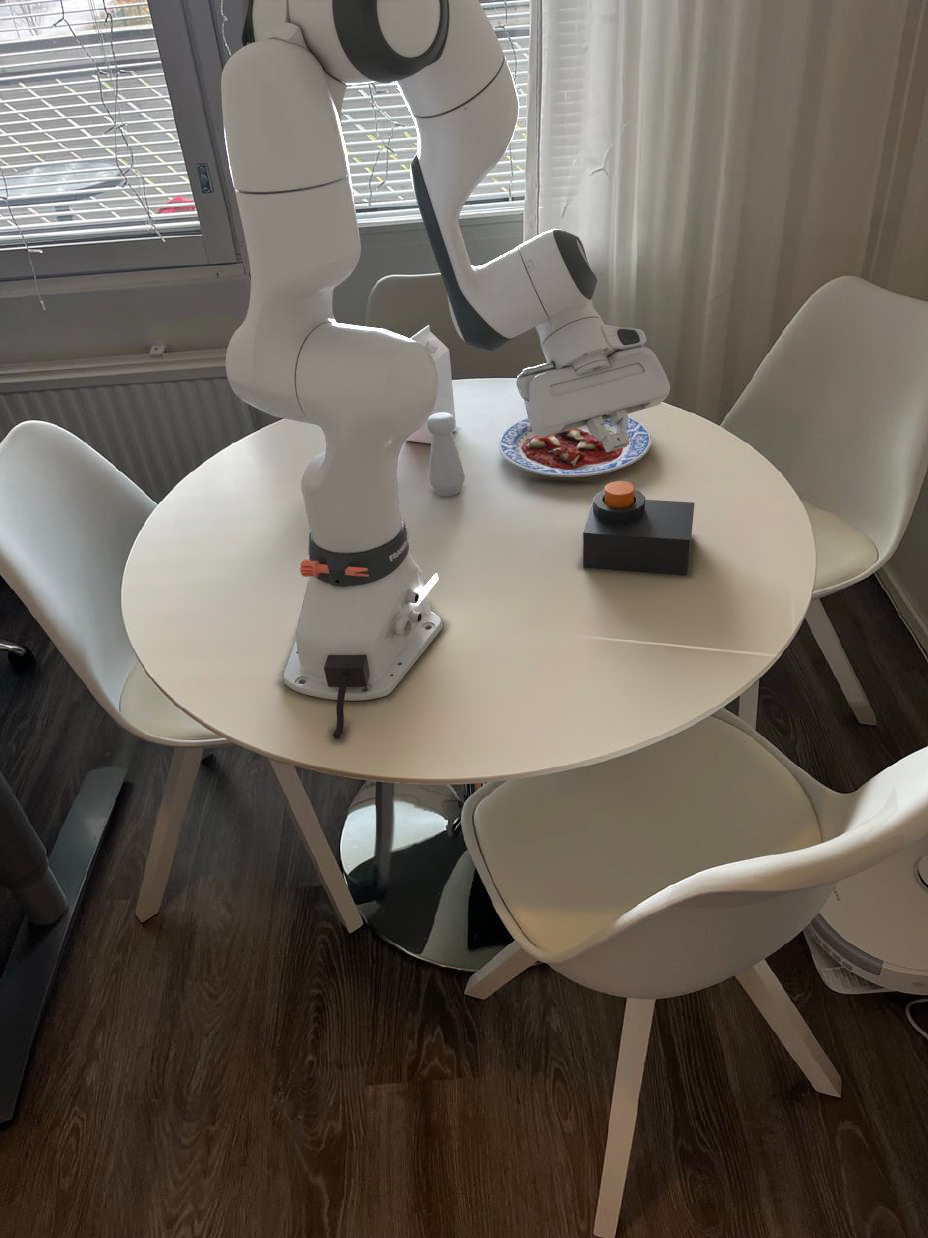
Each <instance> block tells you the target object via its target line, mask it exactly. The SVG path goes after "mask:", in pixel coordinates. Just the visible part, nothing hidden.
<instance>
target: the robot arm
mask: <svg viewBox="0 0 928 1238" xmlns="http://www.w3.org/2000/svg"><path fill="white" fill-rule="evenodd" d="M241 7H242V9H241V12H242V13H241V15H242V29H241V34H240V41H241V46H242V47H241V48H240V49H238V50H237V51H236V52H234V53H233V54H232V55H231V56H230V57H229V59H228V60H227V61H226V63H225V65H224V67H223V70H222V72H221V78H220V79H221V81H220V89H221V91H220V92H221V109H222V120H223V121H222V122H223V130H224V131H223V132H224V140H225V146H226V147H225V148H226V153H227V159H228V166H229V171H230V176H231V179H232V185H233V188H234V193H235V198H236V202H237V207H238V211H239V212H238V213H239V217H240V222H241V226H242V229H243V231H242V232H243V236H244V241H245V246H246V251H247V256H248V262H249V272H250V273H249V275H250V295H249V303H248V308H247V312H246V315H245V318H244V320H243V322H242V324H241V325H240V326H239V327H237V329H236V330H235V331H234V333H233V334H232V336H231V338H230V340H229V343H228V345H227V349H226V354H225V372H226V378H227V381H228V384H229V386H230V389H231V390H232V392H233V393H234V394H235V396H236V397H237V399H240V401H242V402H244V403H245V404H247V405H249V406H251V407H253V408H255V409H257V410H258V411H261V412H263V413H265V414H267V415H270V416H272V417H275V418H279V419H285V420H290V421H295V422H299V423H305V424H311V425H314V426H318V427H319V428H320V429H321V431H322V432H323V436H324V439H325V450H324V451H323V452H321V453H319V454H318V455H316V456H315V457H314V458H312V460H311V461H310V462H309V463H308V465H307V467H306V468H305V470H304V472H303V474H302V477H301V480H300V488H301V489H300V490H301V493H302V499H303V502H304V503H303V504H304V507H305V511H306V516H307V520H308V525H309V534H308V553H307V554H308V557H309V558H308V559H305V558H304V559H302V560H301V562H300V565H299V566H300V567H299V573H300V576H302V577H308V579H307V584H306V588H305V592H304V596H303V600H302V604H301V609H300V613H299V617H298V621H297V627H296V629H295V630H296V631H295V640H294V644H293V646H292V649H291V652H290V655H289V658H288V660H287V663H286V666H285V669H284V672H283V674H282V675H283V676H282V677H283V678H282V679H283V683H284V684H285V685H286V686H287V687H288V688H289V689H291V690H293V691H294V692H297V693H299V694H302V695H306V696H308V697H309V696H310V697H314V698H319V699H324V700H335V701H336V706H335V707H336V708H335V709H336V727H335V730H334V732H333V735H332V737H333V738H334V739H336V740H339V739H341V737H342V736H341V735H342V733H343V731H344V727H345V713H344V708H345V706H344V705H345V701H347V702H348V701H349V702H354V701H355V702H357V701H371V700H375V699H379V698H383V697H387V696H389V695H390V694H391V693H392V692H394V690H395V689H396V687H397V686H399V684H400V683H401V681H402V680H403V679H404V677H405V676H406V675H407V673H408V672H409V671H410V670H411V668H413V666H414V665H415V664H416V662H417V661H418V660H419V658H420V657H421V656H422V655H423V654H424V653H425V651H426V650H427V649H428V647H429V646H430V645H431V643H432V642H433V641H434V640H435V638H436V637H437V636H438V635H439V633H441V631H442V629H443V628H444V625H443V622H442V618H441V617H440V616H439V615H438V614H436V613H434V611H432V610H431V609H432V608H431V606H430V599H429V594H428V593H429V592H430V591H431V589H432V588H433V587H434V586H435V585H436V583H437V582H438V581H439V576H438V575H439V574H438V573H435V574H433V576H432V577H431V579H429V581H428V582H427V583H426V581H425V577H424V573H423V571H422V569H421V567H419V566H418V564H416V562H415V561H414V559H413V558H412V556H411V554H410V553H409V551H410V543H409V537H410V536H409V531H408V528H407V525H406V521H405V519H404V518H403V516H402V515H401V514H402V513H401V507H400V497H399V488H398V486H399V485H398V474H397V473H398V462H399V461H398V460H399V457H400V453H401V450H402V447H403V445H404V444H405V442H406V441H407V440H406V439H407V438H408V437H409V436H410V435H411V434H413V433H414V432H416V431H417V430H418V429H419V428H420V427H421V426H422V425H423V424H424V423H425V422H426V421H427V419H428V418H429V416H430V415H431V413H432V411H433V409H434V406H435V404H436V400H437V396H438V387H439V384H438V373H437V369H436V366H435V363H434V360H433V358H432V356H431V354H430V353H429V351H428V350H427V348H426V347H425V346H424V345H422V344H420V343H418V342H416V341H414V340H411V339H410V338H409V337H406V336H404V335H401V334H399V333H396V332H393V331H390V330H389V329H386V328H378V327H372V326H371V327H370V326H363V325H356V324H347V323H341V322H337V320H336V319H335V316H334V310H333V309H334V308H333V299H334V298H333V296H334V290H335V288H336V287H338V286H339V285H341V284H342V283H343V282H344V281H346V280H347V279H348V278H350V276H351V275H352V273H353V272H354V271H355V269H356V268H357V265H358V264H359V261H360V258H361V254H362V242H361V236H360V230H359V223H358V216H357V209H356V203H355V198H354V197H355V196H354V192H353V185H352V177H351V171H350V165H349V159H348V154H347V149H346V144H345V140H344V135H343V131H342V111H343V103H344V98H345V95H346V91H347V88H348V85H362V84H371V83H380V84H391V83H396V85H397V87H398V90H399V92H400V94H401V97H402V98H403V100H404V103H405V105H406V107H407V108H408V111H409V112H410V114H411V117H412V119H413V122H414V125H415V129H416V133H417V151H416V153H415V155H414V156H413V158H412V160H411V162H410V164H409V173H410V180H411V185H412V191H413V193H414V198H415V200H416V204H417V207H418V209H419V213H420V216H421V220H422V222H423V226H424V229H425V232H426V235H427V238H428V241H429V244H430V247H431V249H432V253H433V256H434V258H435V262H436V264H437V267H438V270H439V273H440V276H441V279H442V282H443V285H444V287H445V291H446V294H447V295H446V296H447V300H448V301H447V302H448V308H449V313H450V317H451V321H452V323H453V326H454V328H455V330H456V332H457V334H458V336H459V337H460V339H461V340H463V342H464V343H465V344H466V346H469V347H471V348H473V349H477V350H480V351H485V352H489V353H490V352H491V353H493V352H495V351H497V350H498V349H499V348H501V347H503V346H504V345H506V344H508V343H509V342H511V341H513V340H514V339H515V338H516V337H518V336H520V335H522V334H524V333H527V332H528V331H531V330H532V329H533V328H535V329H536V331H537V332H538V335H539V342H540V348H541V351H542V353H543V355H544V357H545V360H546V363H542V364H539V365H536V366H530V367H527V368H524V369H522V370H521V371H522V372H521V373H520V374H518V375H517V377H516V382H515V383H516V387H517V391H518V392H519V395H520V397H521V398H522V400H523V401H524V407H525V410H526V411H525V412H526V415H527V418H528V419H529V422H530V425H531V428H532V431H533V432H534V433H535V434H536V435H538V436H539V437H546V436H549V435H553V434H556V433H560V432H564V431H567V430H571V429H575V428H578V427H582V426H585V425H587V427H588V430H589V432H590V433H591V434H592V435H593V436H595V437H596V438H597V439H598V440H600V441H602V443H603V446H604V448H605V451H606V452H611V451H614V450H617V449H621V448H624V447H627V446H628V445H629V438H628V436H627V433H626V428H627V421H628V417H629V416H628V414H632V413H635V412H639V411H643V410H647V409H651V408H654V407H657V406H659V405H661V404H662V403H663V402H665V400H666V399H667V398H668V397H669V395H670V391H671V383H670V381H669V379H668V377H667V374H666V371H665V370H664V367H663V366H662V364H661V362H660V360H659V358H658V356H657V354H656V353H654V351H653V350H651V348H649V347H647V346H645V344H646V343H647V337H646V334H645V332H644V331H643V330H642V329H640V328H633V327H623V326H615V325H610V324H605V323H604V321H603V318H602V317H601V315H600V314H599V312H597V310H596V309H595V306H594V304H593V297H594V294H595V290H596V287H597V283H598V278H597V275H596V274H595V273H594V272H593V270H592V268H591V266H590V263H589V261H588V258H587V254H586V251H585V247H584V245H583V242H582V240H581V239H580V237H579V236H577V235H575V234H574V233H571V232H569V231H566V230H563V229H558V228H553V229H550V230H547V231H544V232H542V233H540V234H538V235H536V236H534V237H532V238H530V239H528V240H527V241H525V242H523V243H521V244H519V245H518V246H516V247H515V248H513V249H511V250H509V251H507V252H505V253H504V254H501V255H500V256H498V257H496V258H494V259H492V260H490V261H489V262H487V263H484V264H483V265H477V266H476V265H472V263H471V260H470V257H469V254H468V250H467V247H466V244H465V240H464V237H463V234H462V230H461V227H460V223H459V222H460V221H459V220H460V214H461V212H462V209H463V208H464V205H465V204H466V202H467V200H468V199H469V198H470V196H471V194H472V193H473V192H474V191H475V189H476V188H477V187H478V185H479V184H480V183H481V182H482V181H483V180H484V179H485V178H486V177H487V175H488V174H489V173H490V172H491V171H492V170H493V169H494V168H495V167H496V165H497V164H498V163H499V162H500V161H501V159H502V158H503V156H504V155H505V153H506V151H507V149H509V146H510V144H511V142H512V140H513V138H514V135H515V131H516V128H517V124H518V120H519V112H520V101H519V96H518V92H517V88H516V85H515V81H514V77H513V75H512V72H511V68H510V66H509V63H508V61H507V58H506V54H505V52H504V50H503V48H502V46H501V43H500V41H499V39H498V36H497V34H496V32H495V30H494V27H493V26H492V23H491V22H490V20H489V18H488V16H487V13H486V12H485V10H484V8H483V6H482V4H481V3H480V1H479V0H242V5H241ZM607 419H610V420H611V422H612V424H613V425H616V424H617V428H616V434H612V435H611V434H610V433H609V432H608V431H607V430H606V429H605V428H604V427H603V426H602V425H603V423H604V420H607Z"/></svg>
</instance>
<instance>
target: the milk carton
mask: <svg viewBox="0 0 928 1238" xmlns="http://www.w3.org/2000/svg"><path fill="white" fill-rule="evenodd" d="M409 339H411V340H414V341H416V342H418V343H420V344H422V345H424V346H425V347H426V348H427V350H428V351H429V353H430V354H431V356H432V358H433V360H434V363H435V366H436V369H437V373H438V384H439V387H438V396H437V400H436V404H435V406H434V409H433V411H432V413H431V415H432V414H434V413H439V412H445V413H449V414H451V415H452V416H453V417H454V421H455V428H454V430H453V431H452V433H453V434H454V432H455V431H456V430H457V421H456V420H457V419H456V411H455V409H456V408H455V400H454V388H453V379H452V367H451V358H450V357H451V356H450V355H451V354H450V349H449V348H448V347H447V346H446V345H445V344H444V343H443V341H441V340H440V339H439V338H438V337H437V336H436V335H435V334H433V332H431V326H430V324H427V326H425V327H423V328H422V329H421V330H419V331H418V332H416V333H415V334H414V335H413V336H411V337H410V338H409ZM431 415H430V416H431ZM430 416H429V417H430ZM431 438H432V433H431V432H429V430H428V426H427V421H426V422H425V423H424V424H423V425H422V426H421V427H420V428H419V429H418V430H417V431H416V432H414V433H413V434H411V435H410V436H409V437H408V438H407V439H406V440H405V441H407V442H416V443H420V444H421V443H423V444H430V445H431Z"/></svg>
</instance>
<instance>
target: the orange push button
mask: <svg viewBox="0 0 928 1238" xmlns="http://www.w3.org/2000/svg"><path fill="white" fill-rule="evenodd" d="M604 489H605V504H606V505H609V506H611V507H617V508H623V507H628V506H631V505H632V504H633V503H634V490H636V488H635V486H634V484H632V483H631V482H629V481H623V480H617V481H616V480H615V481H611V482H608V483H606V485H605V487H604Z"/></svg>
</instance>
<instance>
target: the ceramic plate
mask: <svg viewBox="0 0 928 1238" xmlns="http://www.w3.org/2000/svg"><path fill="white" fill-rule="evenodd" d="M602 426H603V427H604V428H605V429H606V430H607V431H608V432H609V433H610V434H611V435H612V434H616V428H617V424H616V425H613V424H612V422H611V420H610V419H607V420H604V423H603V425H602ZM626 433H627V436H628V438H629V445H628V446H627V447H624V448H621V449H617V450H614V451H611V452H606V451H605V448H604V446H603V443H602V441H600V440H598V439H597V438H596V437H595V436H593V435H592V434H591V433H590V432H589V430H588V427H587V425H585V426H582V427H578V428H575V429H571V430H567V431H564V432H560V433H556V434H553V435H549V436H546V437H539V436H538V435H536V434H535V433H534V432H533V431H532V428H531V425H530V422H529V419H528V417H526V418H524V419H521V420H519V421H517V422H516V423H513V424H511V425H510V426H509V427H508V428H507V429H505V431H503V432H502V433H501V436H500V437H499V439H498V450H499V452H500V454H501V456H502V457H503V459H505V460H506V461H507V462H508V463H510V464H511V465H513V466H515V467H516V468H519V469H521V470H524V471H526V472H530V473H533V474H539V475H544V476H550V477H562V478H563V477H564V478H566V477H567V478H576V477H578V478H580V477H591V476H597V475H604V474H608V473H611V472H615V471H618V470H621V469H624V468H626V467H628V466H631V465H633V464H634V463H636V462H638V461H639V460H641V459H642V458H643V457H644V456H645V455H646V454H647V453H649V450H650V448H651V447H652V446H651V445H652V435H651V432H650V430H648V428H647V427H646V426H645V425H644V424H643V423H641V422H639V421H637V420H636V419H634V418H632V417H630V416H628V421H627V428H626Z"/></svg>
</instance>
